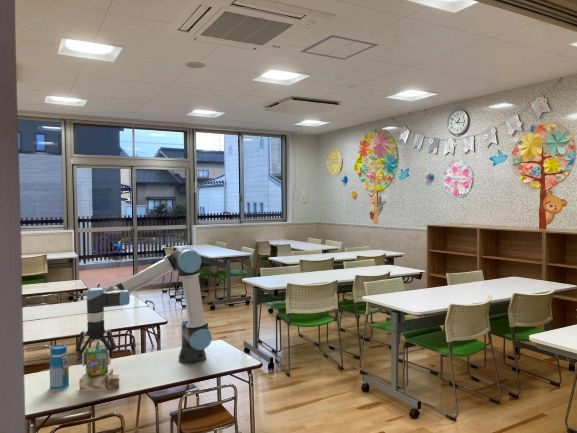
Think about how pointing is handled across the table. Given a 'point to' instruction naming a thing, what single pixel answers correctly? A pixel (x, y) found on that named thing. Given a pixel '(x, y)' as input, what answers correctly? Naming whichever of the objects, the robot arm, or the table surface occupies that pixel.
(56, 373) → the beverage bottle
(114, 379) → the walnut cube
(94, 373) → the green juice carton
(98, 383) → the base block
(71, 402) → the table surface
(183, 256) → the robot arm
